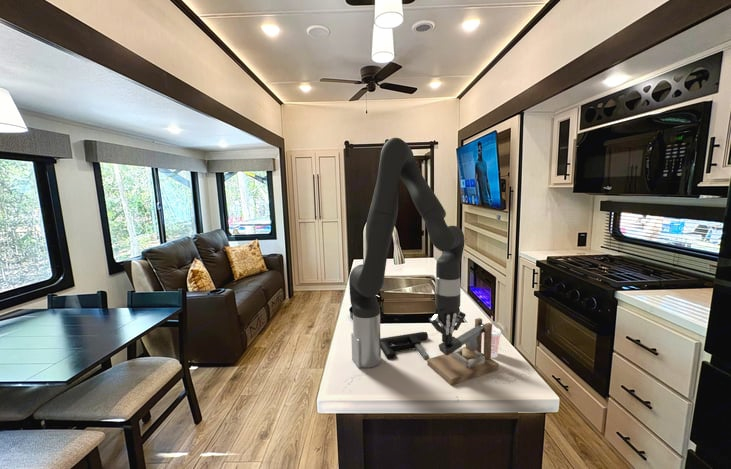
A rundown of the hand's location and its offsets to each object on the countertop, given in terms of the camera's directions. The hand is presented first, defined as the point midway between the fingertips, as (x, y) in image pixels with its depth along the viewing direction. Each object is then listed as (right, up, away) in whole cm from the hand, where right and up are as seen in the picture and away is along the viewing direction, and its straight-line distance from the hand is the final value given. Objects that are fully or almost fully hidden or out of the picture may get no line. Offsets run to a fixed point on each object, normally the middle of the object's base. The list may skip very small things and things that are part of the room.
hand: (447, 343), depth 95 cm
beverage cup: (+18, -8, +11) cm, 23 cm away
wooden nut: (+8, -7, +4) cm, 11 cm away
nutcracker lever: (+8, -3, +4) cm, 9 cm away
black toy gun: (-10, -8, +16) cm, 20 cm away
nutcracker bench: (+6, -9, +4) cm, 11 cm away
